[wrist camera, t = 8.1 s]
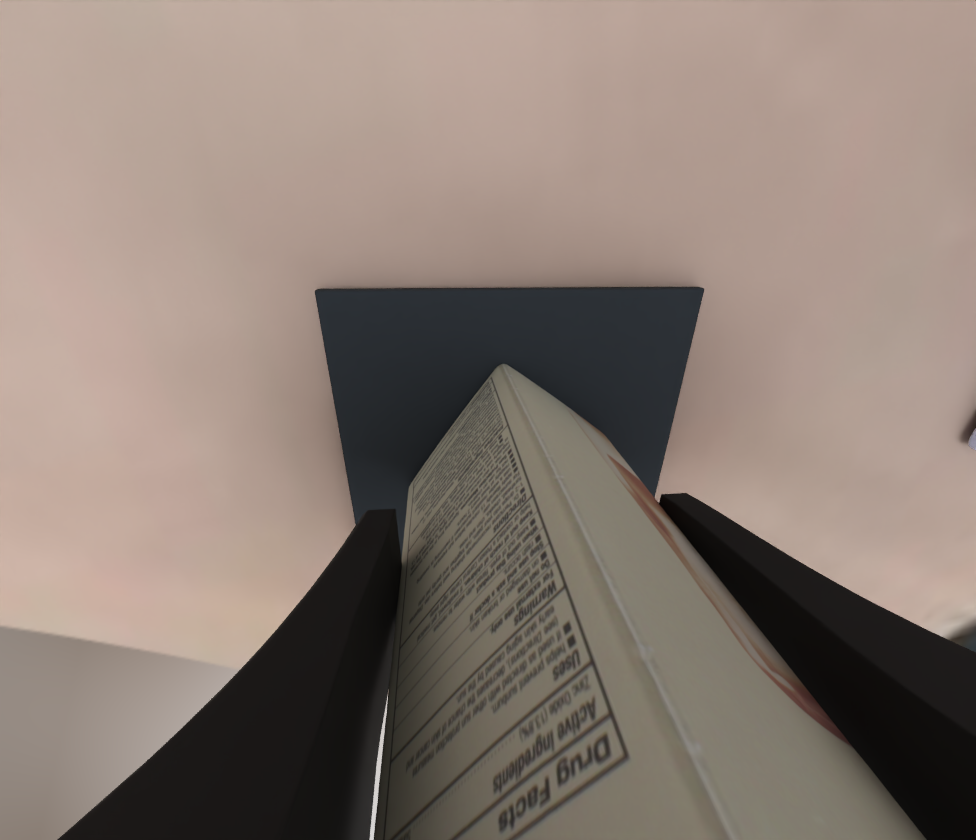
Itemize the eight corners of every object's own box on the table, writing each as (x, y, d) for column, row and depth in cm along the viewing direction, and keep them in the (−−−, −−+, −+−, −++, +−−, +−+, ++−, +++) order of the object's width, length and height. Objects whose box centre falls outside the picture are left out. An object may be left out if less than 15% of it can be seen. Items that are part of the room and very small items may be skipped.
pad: (699, 286, 11) (705, 288, 11) (639, 539, 15) (643, 545, 15) (317, 288, 10) (314, 290, 10) (363, 556, 14) (361, 563, 14)
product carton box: (513, 541, 14) (635, 1109, 5) (403, 484, 13) (305, 1144, 4) (618, 431, 12) (1059, 978, 4) (506, 351, 11) (775, 947, 2)
